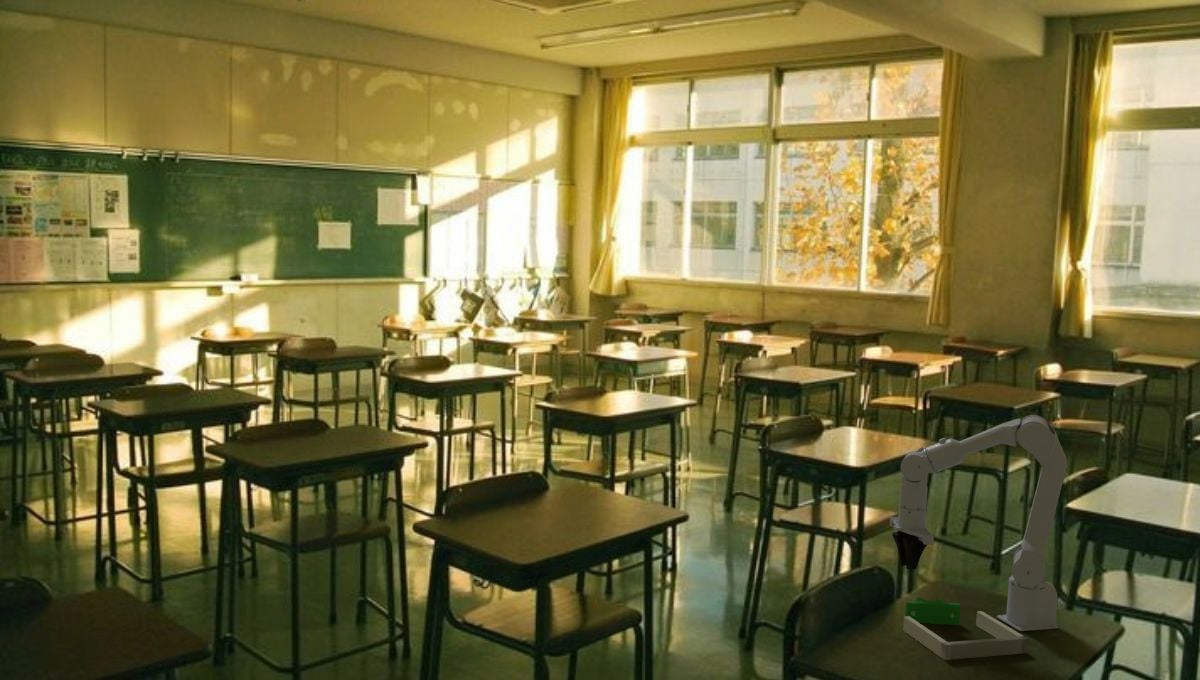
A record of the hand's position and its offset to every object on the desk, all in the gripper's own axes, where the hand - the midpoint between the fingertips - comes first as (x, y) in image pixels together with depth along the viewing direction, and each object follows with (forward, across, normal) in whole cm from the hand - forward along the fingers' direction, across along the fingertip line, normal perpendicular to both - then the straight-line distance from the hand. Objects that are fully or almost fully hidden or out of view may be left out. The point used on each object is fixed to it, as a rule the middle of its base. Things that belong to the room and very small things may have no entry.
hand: (908, 566), depth 224 cm
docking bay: (+8, +21, 0) cm, 23 cm away
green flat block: (+9, +10, 0) cm, 13 cm away
